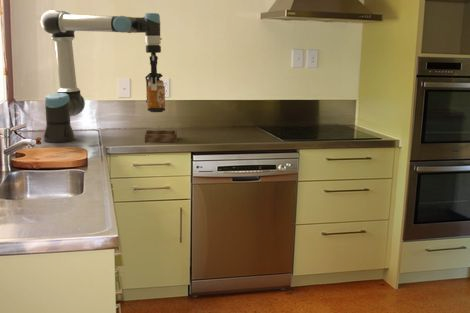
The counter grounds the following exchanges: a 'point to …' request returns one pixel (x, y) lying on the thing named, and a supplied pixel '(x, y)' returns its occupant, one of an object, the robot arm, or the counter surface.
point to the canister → (155, 94)
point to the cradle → (161, 136)
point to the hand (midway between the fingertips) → (154, 89)
